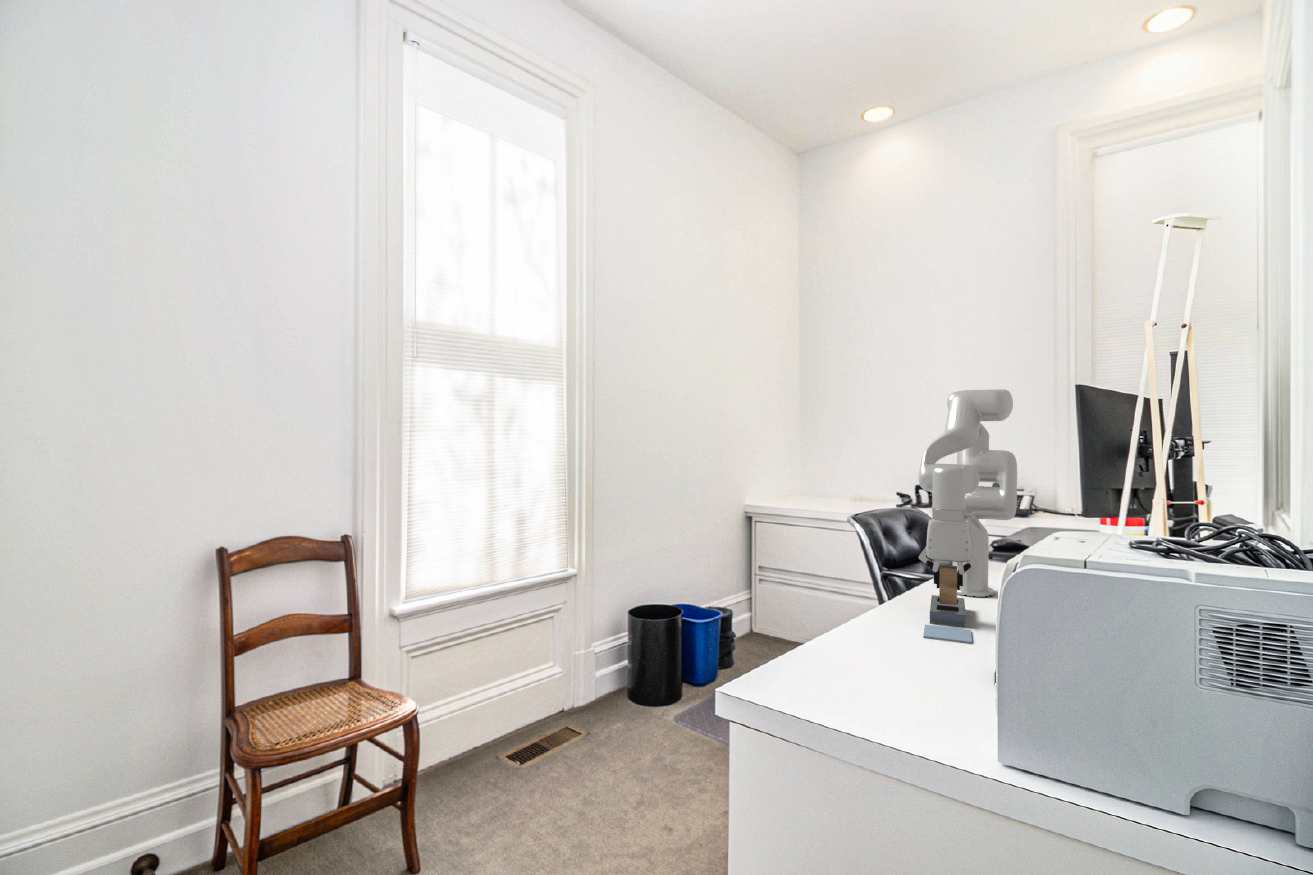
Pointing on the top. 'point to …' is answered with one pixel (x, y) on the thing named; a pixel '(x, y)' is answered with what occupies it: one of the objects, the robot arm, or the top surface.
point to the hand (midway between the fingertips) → (948, 587)
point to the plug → (948, 585)
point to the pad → (947, 634)
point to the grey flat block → (947, 613)
